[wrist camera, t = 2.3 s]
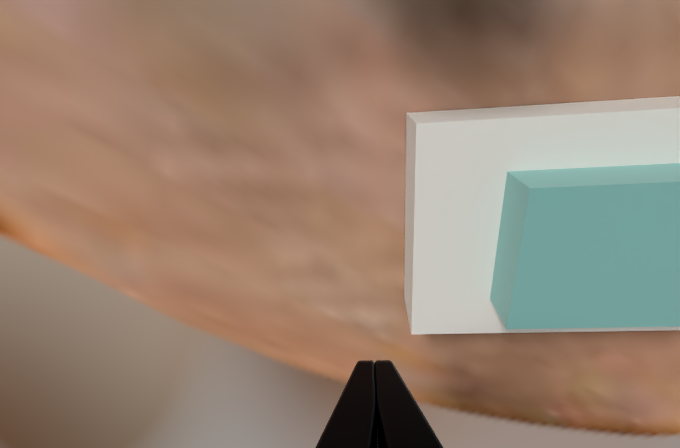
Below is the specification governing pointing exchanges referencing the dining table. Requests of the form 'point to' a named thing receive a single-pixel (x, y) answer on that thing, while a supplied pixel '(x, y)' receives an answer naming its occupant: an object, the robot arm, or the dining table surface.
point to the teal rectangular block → (589, 248)
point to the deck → (488, 191)
